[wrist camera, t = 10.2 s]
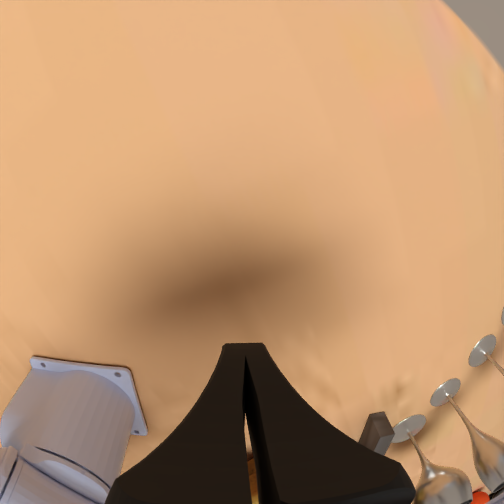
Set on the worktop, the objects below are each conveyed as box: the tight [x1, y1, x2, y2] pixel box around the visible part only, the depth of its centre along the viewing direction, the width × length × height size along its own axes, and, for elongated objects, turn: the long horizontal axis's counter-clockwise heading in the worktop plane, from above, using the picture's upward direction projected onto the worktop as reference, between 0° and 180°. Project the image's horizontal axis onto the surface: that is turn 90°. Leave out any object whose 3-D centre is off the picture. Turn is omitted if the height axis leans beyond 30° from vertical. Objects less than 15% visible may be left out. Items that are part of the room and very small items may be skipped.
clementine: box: [470, 491, 490, 504], centre depth 39 cm, size 8×7×7 cm
